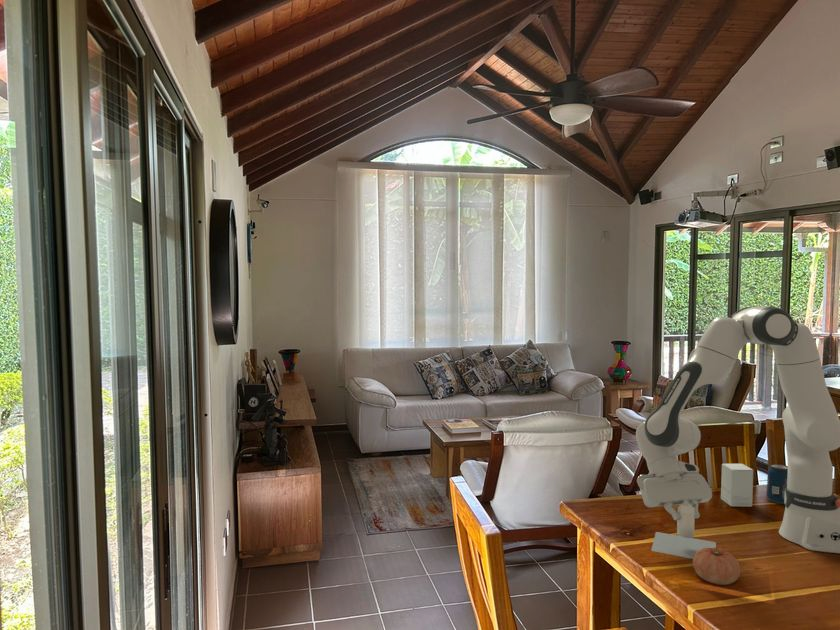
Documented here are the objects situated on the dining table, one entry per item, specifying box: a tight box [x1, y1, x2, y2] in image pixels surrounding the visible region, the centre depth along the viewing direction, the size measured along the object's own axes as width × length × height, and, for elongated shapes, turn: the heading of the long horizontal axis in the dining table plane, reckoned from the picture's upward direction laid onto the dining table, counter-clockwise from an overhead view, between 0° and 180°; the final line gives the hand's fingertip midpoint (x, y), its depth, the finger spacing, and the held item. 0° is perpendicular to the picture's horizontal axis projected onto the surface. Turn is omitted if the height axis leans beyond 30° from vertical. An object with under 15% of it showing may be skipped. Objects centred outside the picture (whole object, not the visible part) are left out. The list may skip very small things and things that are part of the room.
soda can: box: [766, 463, 788, 504], centre depth 206 cm, size 7×7×12 cm
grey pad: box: [650, 531, 717, 560], centre depth 169 cm, size 16×14×1 cm
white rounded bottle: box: [676, 499, 696, 538], centre depth 168 cm, size 4×4×10 cm
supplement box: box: [720, 463, 754, 508], centre depth 204 cm, size 7×7×13 cm
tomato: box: [692, 547, 741, 586], centre depth 151 cm, size 11×11×8 cm
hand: (687, 518), depth 168 cm, fingers closed on white rounded bottle, 4 cm apart
